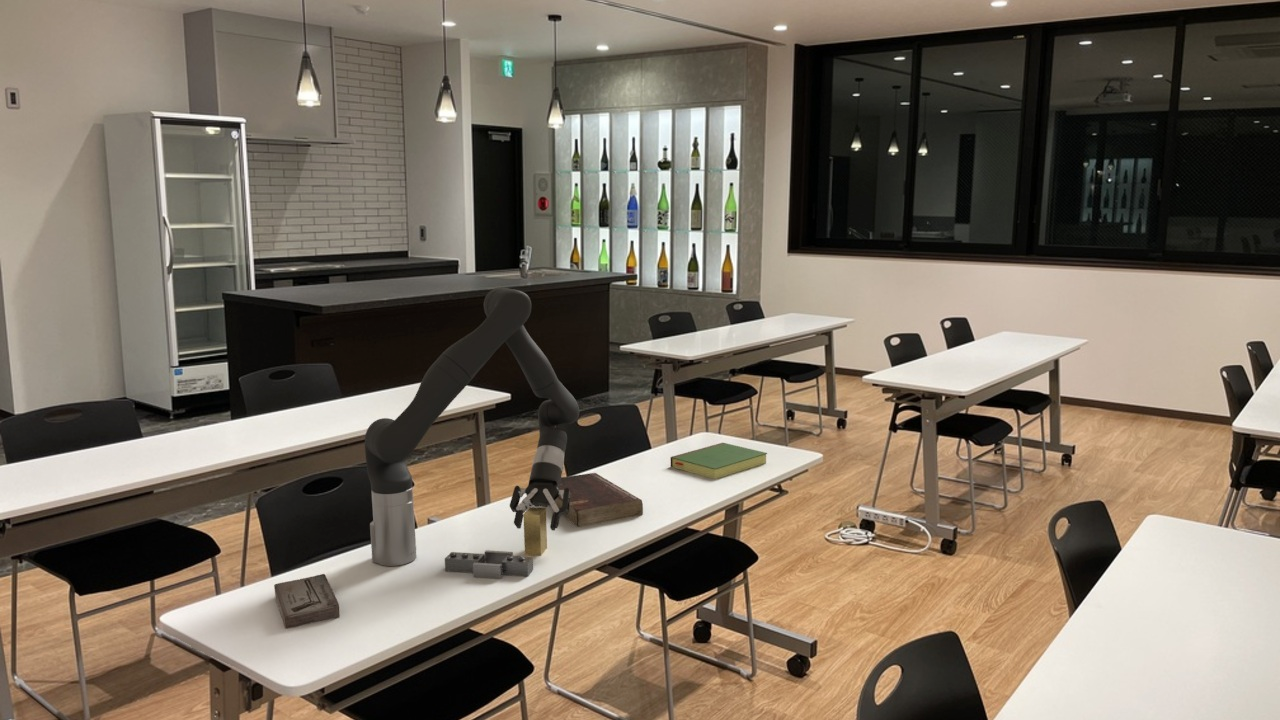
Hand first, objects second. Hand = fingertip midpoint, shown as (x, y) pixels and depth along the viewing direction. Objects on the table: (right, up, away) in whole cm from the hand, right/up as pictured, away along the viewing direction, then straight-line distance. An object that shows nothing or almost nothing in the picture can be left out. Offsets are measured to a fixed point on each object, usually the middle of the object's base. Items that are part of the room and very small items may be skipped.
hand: (535, 528), depth 222 cm
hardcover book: (+49, +6, +71) cm, 87 cm away
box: (-44, -12, -28) cm, 54 cm away
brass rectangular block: (0, -6, +1) cm, 6 cm away
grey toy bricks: (-8, -8, -11) cm, 15 cm away
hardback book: (+11, -1, +34) cm, 36 cm away
